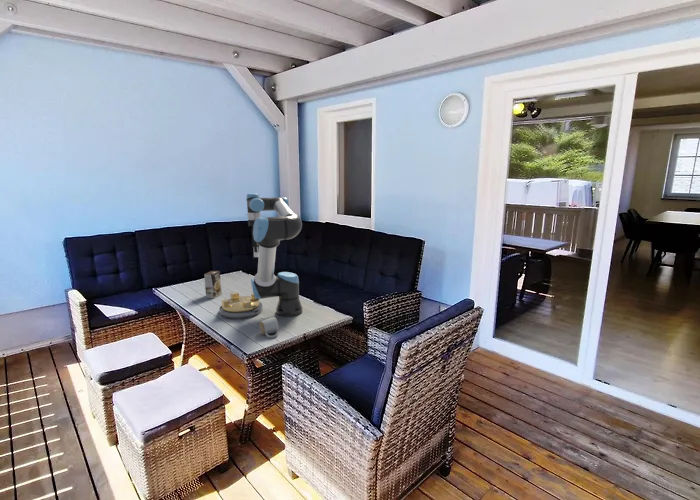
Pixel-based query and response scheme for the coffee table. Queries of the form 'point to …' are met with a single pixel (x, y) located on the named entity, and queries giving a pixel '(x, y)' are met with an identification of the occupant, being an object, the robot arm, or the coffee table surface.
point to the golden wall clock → (240, 303)
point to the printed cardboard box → (213, 284)
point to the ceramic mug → (269, 327)
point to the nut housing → (241, 315)
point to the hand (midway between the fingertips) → (256, 256)
